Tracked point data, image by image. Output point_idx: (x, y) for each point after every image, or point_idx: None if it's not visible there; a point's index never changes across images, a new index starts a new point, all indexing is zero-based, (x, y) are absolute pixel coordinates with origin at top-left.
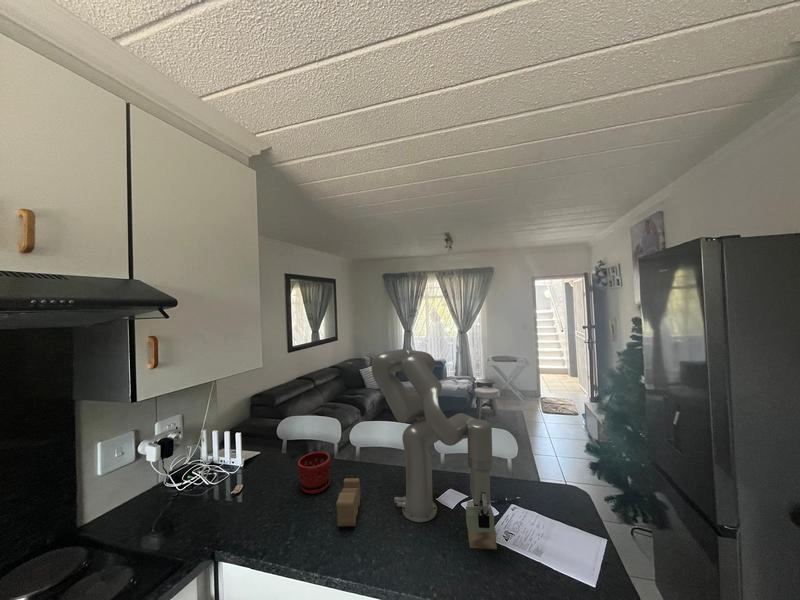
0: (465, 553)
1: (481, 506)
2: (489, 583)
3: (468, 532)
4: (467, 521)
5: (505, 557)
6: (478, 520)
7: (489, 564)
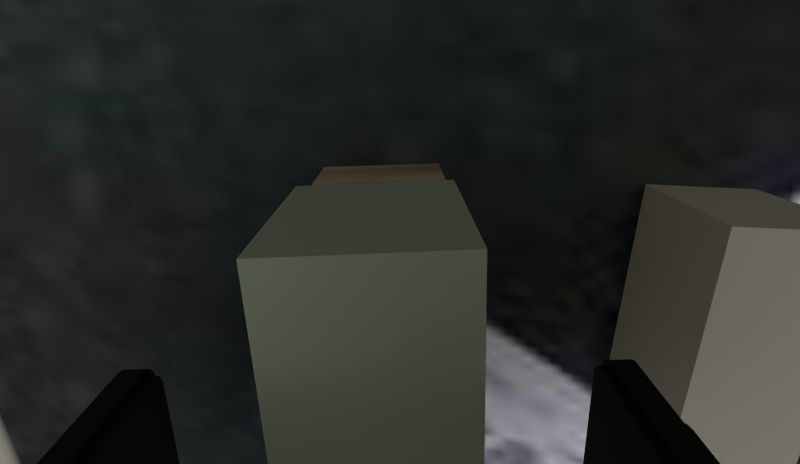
0: (254, 120)
1: (584, 454)
2: (11, 268)
3: (417, 179)
4: (312, 212)
5: None
6: (75, 430)
7: (181, 294)
